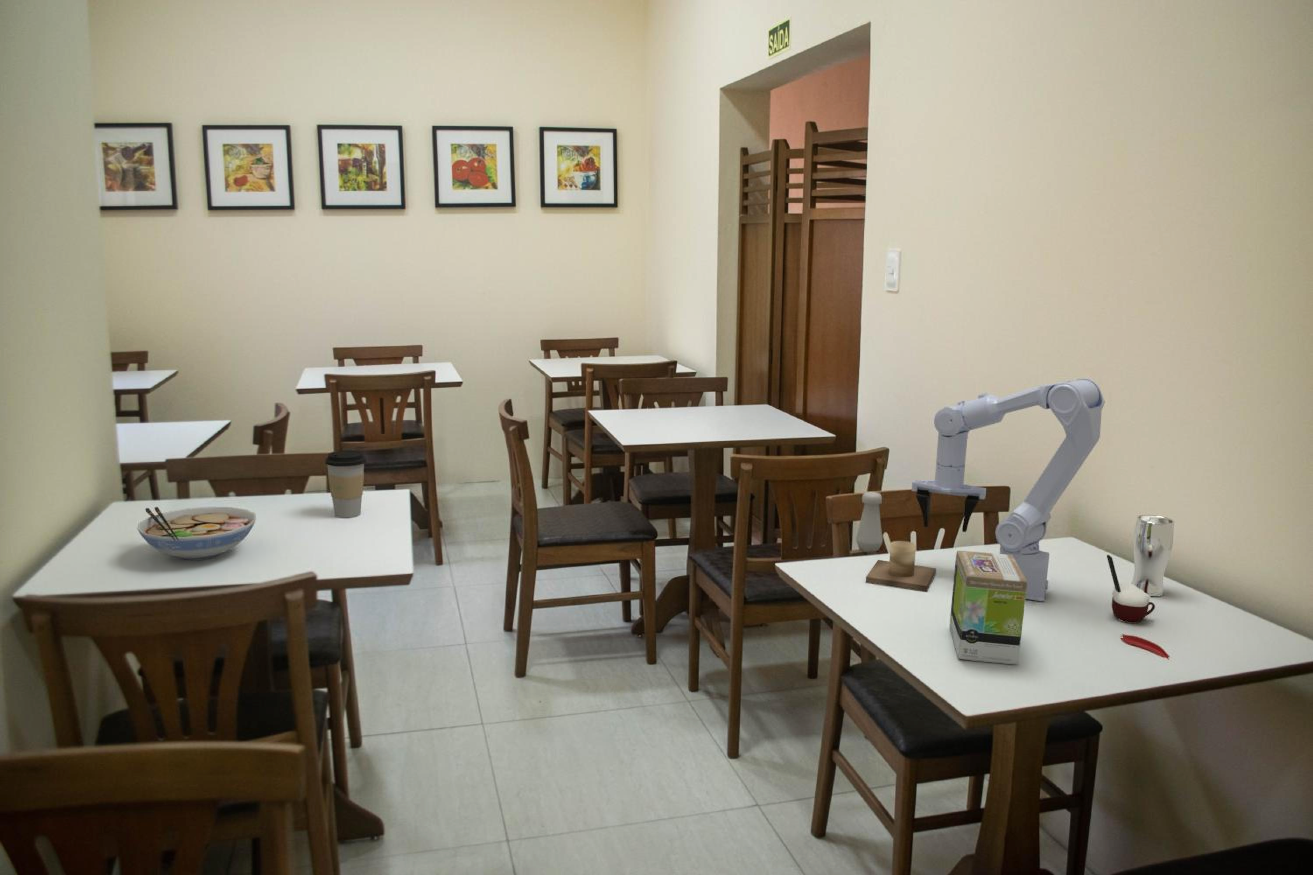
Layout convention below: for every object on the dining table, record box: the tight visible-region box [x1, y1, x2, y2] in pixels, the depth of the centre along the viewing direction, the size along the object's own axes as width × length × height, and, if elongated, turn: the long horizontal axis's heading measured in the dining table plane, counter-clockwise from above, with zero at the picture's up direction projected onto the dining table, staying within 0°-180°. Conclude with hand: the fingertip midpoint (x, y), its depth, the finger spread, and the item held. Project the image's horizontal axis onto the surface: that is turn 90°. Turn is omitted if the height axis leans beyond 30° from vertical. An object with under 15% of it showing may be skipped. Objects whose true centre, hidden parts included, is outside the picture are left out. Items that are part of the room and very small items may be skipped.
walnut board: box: [865, 559, 937, 593], centre depth 210 cm, size 12×12×1 cm
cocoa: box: [1106, 554, 1156, 624], centre depth 189 cm, size 10×6×12 cm, turn 67°
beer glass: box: [1130, 514, 1175, 596], centre depth 203 cm, size 7×7×15 cm
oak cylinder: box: [888, 540, 917, 577], centre depth 209 cm, size 5×5×6 cm
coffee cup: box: [324, 449, 367, 519], centre depth 245 cm, size 9×9×15 cm
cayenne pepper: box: [1119, 633, 1171, 661], centre depth 177 cm, size 12×5×2 cm, turn 7°
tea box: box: [949, 550, 1027, 665], centre depth 175 cm, size 15×10×15 cm, turn 170°
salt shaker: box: [855, 491, 884, 553], centre depth 227 cm, size 6×6×13 cm
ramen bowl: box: [137, 506, 257, 561], centre depth 214 cm, size 25×23×8 cm
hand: (945, 528), depth 212 cm, fingers open, 7 cm apart
